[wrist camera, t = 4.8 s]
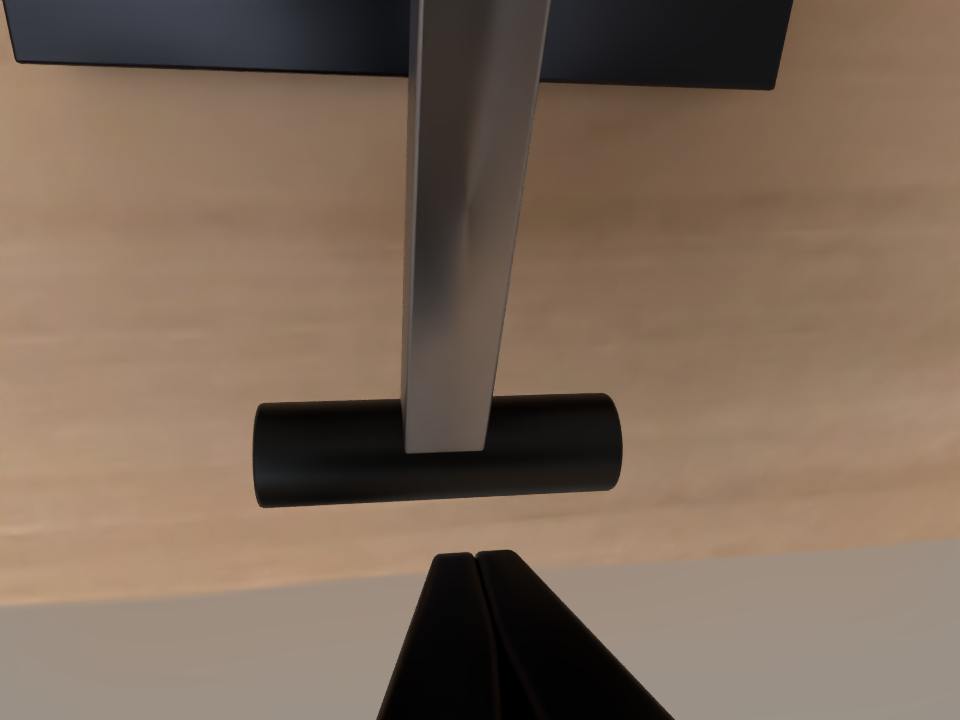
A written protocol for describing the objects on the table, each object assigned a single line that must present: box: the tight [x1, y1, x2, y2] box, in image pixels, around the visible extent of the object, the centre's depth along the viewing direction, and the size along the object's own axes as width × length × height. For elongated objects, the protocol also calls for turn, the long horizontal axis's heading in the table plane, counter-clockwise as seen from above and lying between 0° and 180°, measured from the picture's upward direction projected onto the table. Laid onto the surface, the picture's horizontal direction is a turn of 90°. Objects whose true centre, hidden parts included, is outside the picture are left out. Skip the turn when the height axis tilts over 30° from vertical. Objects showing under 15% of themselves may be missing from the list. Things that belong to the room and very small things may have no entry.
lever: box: [253, 0, 623, 508], centre depth 7 cm, size 12×5×2 cm, turn 177°
